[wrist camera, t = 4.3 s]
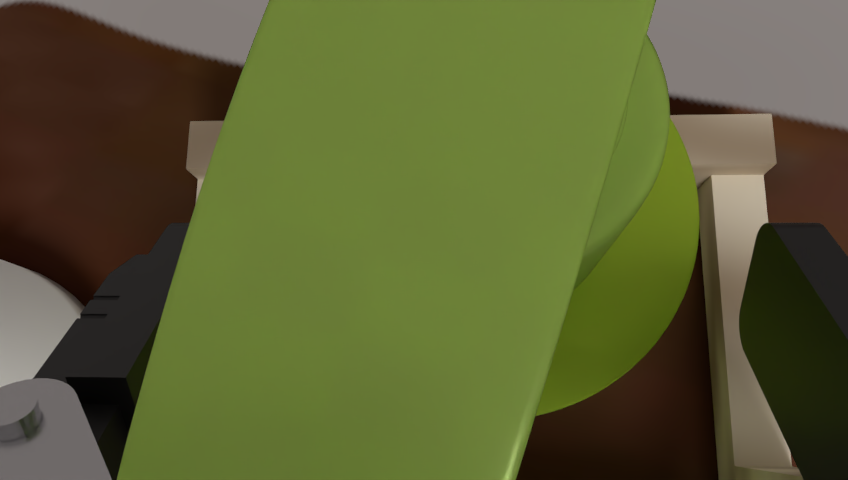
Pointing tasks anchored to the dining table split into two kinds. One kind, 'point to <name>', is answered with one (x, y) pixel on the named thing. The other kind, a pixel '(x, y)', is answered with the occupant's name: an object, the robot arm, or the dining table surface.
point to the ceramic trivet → (31, 320)
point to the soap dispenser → (418, 242)
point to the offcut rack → (722, 272)
